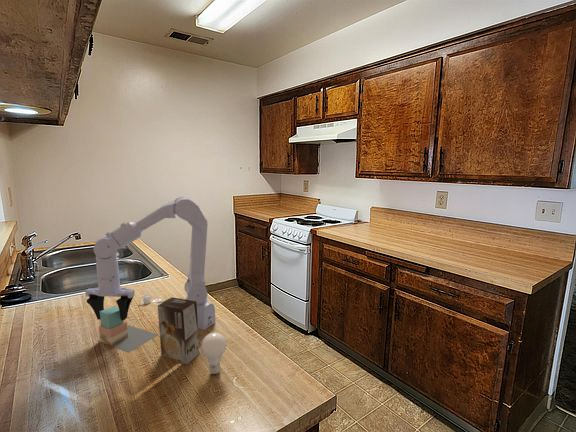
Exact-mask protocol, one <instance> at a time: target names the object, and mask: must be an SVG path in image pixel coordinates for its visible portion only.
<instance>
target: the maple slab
mask: <svg viewBox="0 0 576 432" xmlns="http://www.w3.org/2000/svg"><path fill="white" fill-rule="evenodd" d="M98 334H99V333H98ZM127 337H128V331H127V330H125V331H123V332H121V333H119V334H118V335H116V336H114V337H112V338H110V337H107V336H105V335H102V334H99V340H100V341H101V342H103V343H102V344H104V343H106V344H105V345H107V344H109V345H114V344H116V343H118V342H119V341H121V340H123V339H125V338H127ZM101 342H100V343H101ZM109 345H108V346H109Z"/></svg>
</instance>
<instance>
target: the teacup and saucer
mask: <svg viewBox="0 0 576 432" xmlns="http://www.w3.org/2000/svg"><path fill="white" fill-rule="evenodd" d="M141 299H142V300H141ZM151 300H153V301H151ZM139 301H140V303H142V304H143V305H147V304H150V303H157V304H161V303H162V302H163V301H162V298H155V299H152V294H144V295H142V296H141V297H140V299H139ZM143 302H144V303H143Z"/></svg>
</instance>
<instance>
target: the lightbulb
mask: <svg viewBox="0 0 576 432" xmlns="http://www.w3.org/2000/svg"><path fill="white" fill-rule="evenodd" d="M200 348H201V352H202V354H203V356H204V357H206V359H207V363H208V364H209V373H210V374H211V375H216V374H219V373H220V371H221V360H222V357H223V355H224V354H225V351H226V349H227V340H226V338H225V337H224V336H223V334H222V333H219V332H210V333H208V334H206V335H205V337H204V338H203V339H202V342H201V347H200Z"/></svg>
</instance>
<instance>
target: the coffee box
mask: <svg viewBox="0 0 576 432" xmlns="http://www.w3.org/2000/svg"><path fill="white" fill-rule="evenodd" d="M157 316H158V318H157V319H158V329H159V339H160V340H159V341H160V352H161V354H160V356H163V357H166V358H170V359H173V360H178V361H179V362H178V363H179V364H184V365H188V364H189V363H190V362H192V361H193V360H194V359H195V358H196V357H197V356H199V354H200V353H201V352H200V341H199V340H200V338H199V329H198V319H197V301H192V300H186V298H177V297H173V296H172V297H170V298H168V299H165V300H164V301H161V303H158V304H157Z"/></svg>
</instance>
